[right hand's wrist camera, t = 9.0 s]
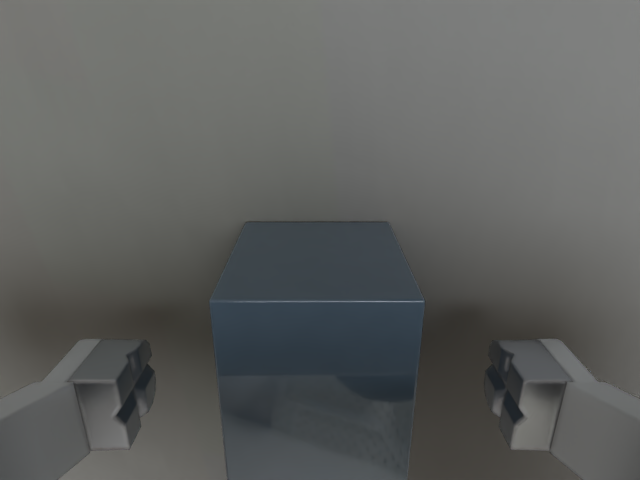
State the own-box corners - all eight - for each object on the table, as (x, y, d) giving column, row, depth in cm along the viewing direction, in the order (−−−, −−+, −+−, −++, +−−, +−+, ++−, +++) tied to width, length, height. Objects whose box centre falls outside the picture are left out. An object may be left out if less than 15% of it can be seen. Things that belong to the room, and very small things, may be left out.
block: (245, 221, 12) (207, 300, 8) (389, 221, 12) (426, 299, 8) (254, 365, 14) (227, 491, 10) (380, 365, 14) (407, 490, 10)
